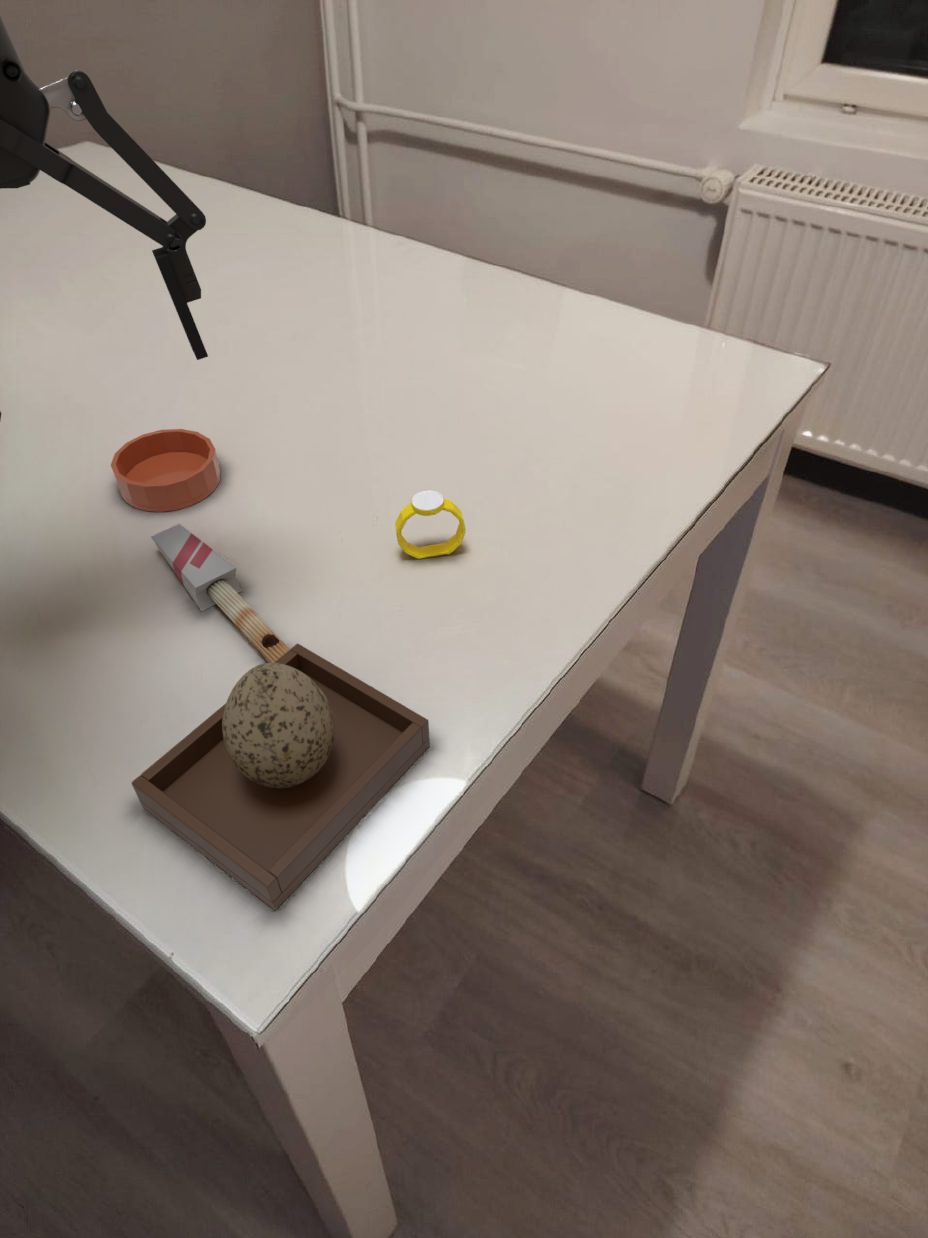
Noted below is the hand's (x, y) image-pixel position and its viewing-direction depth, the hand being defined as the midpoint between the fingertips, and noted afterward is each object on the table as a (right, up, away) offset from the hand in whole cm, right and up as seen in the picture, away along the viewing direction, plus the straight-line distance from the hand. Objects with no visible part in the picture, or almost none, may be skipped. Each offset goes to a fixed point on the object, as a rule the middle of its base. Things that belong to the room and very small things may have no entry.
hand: (99, 387), depth 56 cm
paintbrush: (+3, -14, +17) cm, 22 cm away
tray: (+12, -26, +4) cm, 29 cm away
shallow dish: (-5, -2, +29) cm, 29 cm away
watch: (+21, -9, +21) cm, 31 cm away
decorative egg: (+12, -25, +4) cm, 28 cm away
